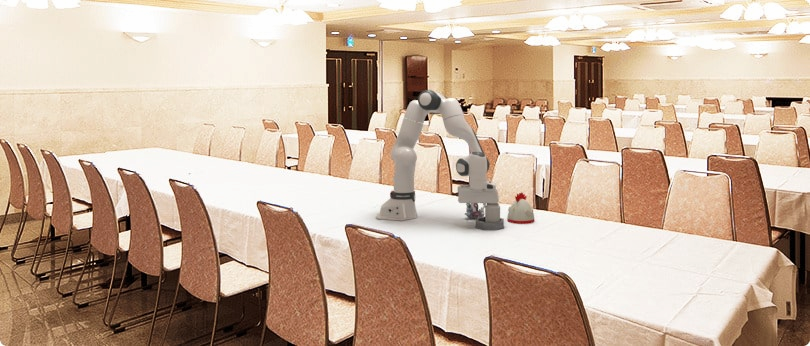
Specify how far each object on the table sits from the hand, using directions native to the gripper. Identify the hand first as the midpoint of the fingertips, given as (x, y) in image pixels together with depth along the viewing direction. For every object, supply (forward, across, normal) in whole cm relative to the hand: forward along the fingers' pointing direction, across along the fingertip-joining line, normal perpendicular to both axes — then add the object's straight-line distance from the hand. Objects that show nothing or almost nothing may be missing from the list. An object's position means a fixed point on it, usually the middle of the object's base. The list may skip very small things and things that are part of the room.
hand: (478, 211), depth 328 cm
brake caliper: (+8, -3, +20) cm, 22 cm away
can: (+8, +7, 0) cm, 11 cm away
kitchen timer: (+8, +21, +14) cm, 27 cm away
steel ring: (+8, +6, 0) cm, 10 cm away
